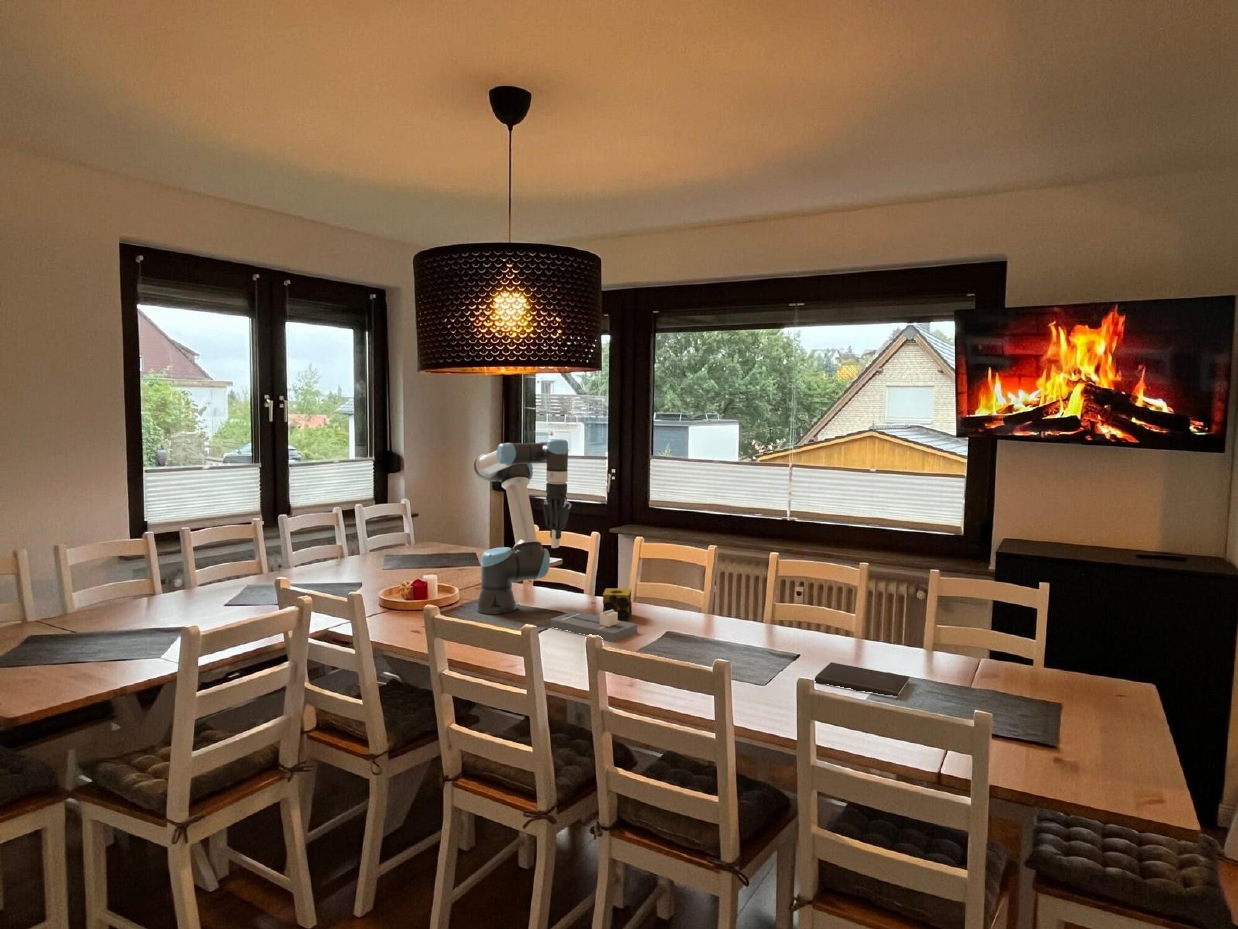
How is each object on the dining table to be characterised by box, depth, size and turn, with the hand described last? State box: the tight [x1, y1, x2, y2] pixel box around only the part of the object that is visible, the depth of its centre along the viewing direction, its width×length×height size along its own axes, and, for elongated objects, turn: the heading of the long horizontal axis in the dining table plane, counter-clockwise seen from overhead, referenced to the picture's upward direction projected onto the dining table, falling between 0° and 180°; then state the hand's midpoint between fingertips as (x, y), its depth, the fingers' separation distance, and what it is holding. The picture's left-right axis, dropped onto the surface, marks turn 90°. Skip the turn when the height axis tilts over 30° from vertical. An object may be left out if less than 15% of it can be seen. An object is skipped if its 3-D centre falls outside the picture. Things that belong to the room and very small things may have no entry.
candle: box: [602, 587, 633, 622], centre depth 288 cm, size 10×10×10 cm
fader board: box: [549, 610, 638, 643], centre depth 271 cm, size 28×14×3 cm, turn 55°
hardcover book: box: [814, 661, 911, 697], centre depth 223 cm, size 16×23×2 cm
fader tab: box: [599, 610, 618, 627], centre depth 267 cm, size 4×5×5 cm
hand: (555, 547), depth 278 cm, fingers closed
